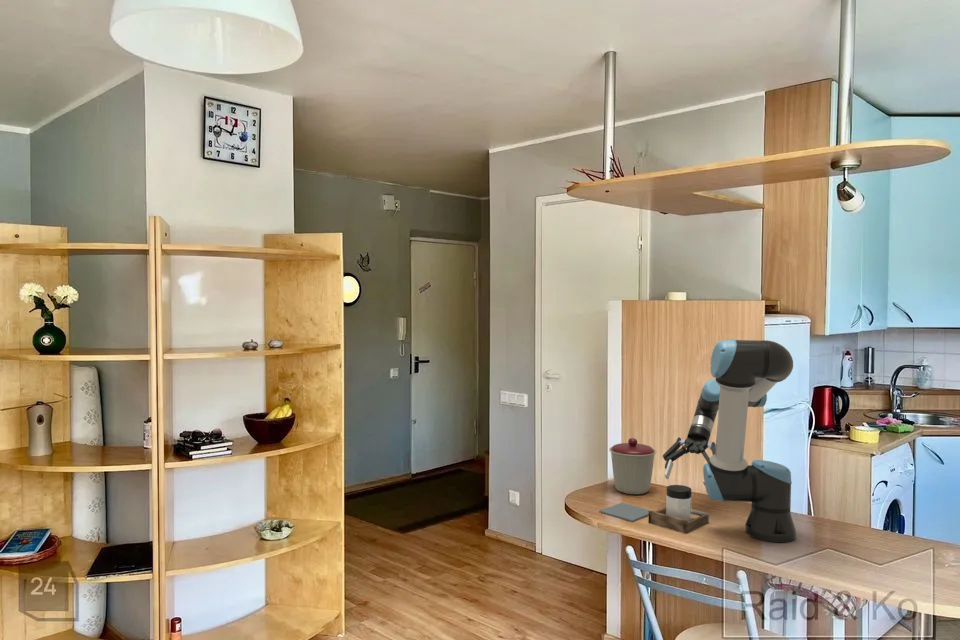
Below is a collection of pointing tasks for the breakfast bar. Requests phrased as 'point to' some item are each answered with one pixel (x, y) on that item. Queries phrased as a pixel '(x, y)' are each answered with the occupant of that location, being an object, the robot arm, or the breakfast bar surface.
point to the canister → (632, 466)
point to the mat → (626, 512)
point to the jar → (679, 502)
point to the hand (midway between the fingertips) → (685, 480)
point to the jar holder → (678, 520)
